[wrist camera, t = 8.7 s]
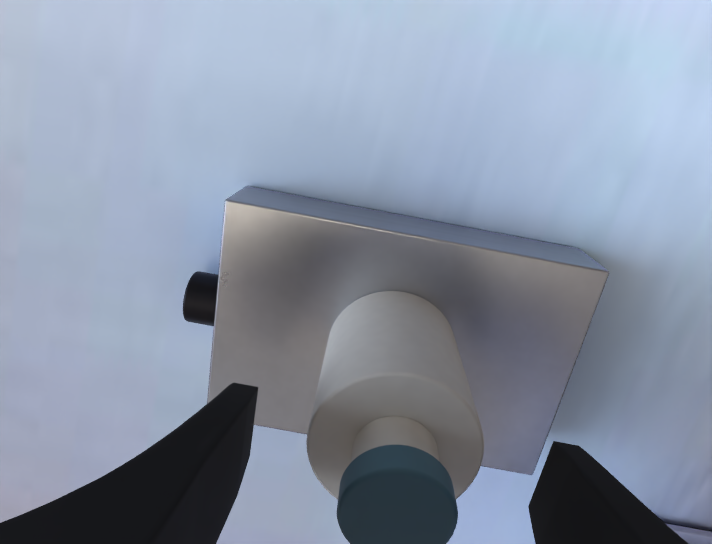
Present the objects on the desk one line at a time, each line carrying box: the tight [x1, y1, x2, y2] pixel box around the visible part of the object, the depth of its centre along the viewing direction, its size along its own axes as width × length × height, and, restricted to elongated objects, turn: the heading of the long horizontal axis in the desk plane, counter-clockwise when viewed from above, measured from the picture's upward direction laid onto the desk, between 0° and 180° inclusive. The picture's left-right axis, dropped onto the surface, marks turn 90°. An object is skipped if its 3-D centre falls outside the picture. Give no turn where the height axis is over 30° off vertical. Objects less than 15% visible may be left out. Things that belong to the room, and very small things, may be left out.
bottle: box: [307, 291, 484, 544], centre depth 13 cm, size 4×4×7 cm
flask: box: [183, 186, 609, 475], centre depth 17 cm, size 13×8×2 cm, turn 80°
